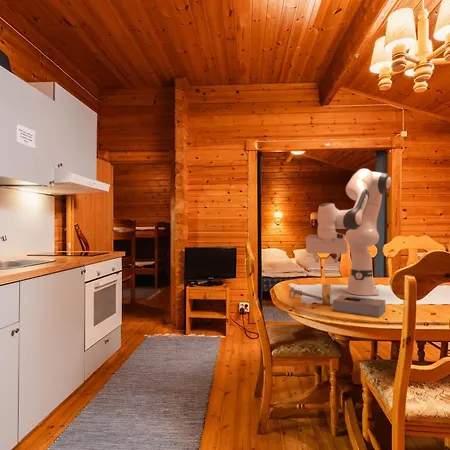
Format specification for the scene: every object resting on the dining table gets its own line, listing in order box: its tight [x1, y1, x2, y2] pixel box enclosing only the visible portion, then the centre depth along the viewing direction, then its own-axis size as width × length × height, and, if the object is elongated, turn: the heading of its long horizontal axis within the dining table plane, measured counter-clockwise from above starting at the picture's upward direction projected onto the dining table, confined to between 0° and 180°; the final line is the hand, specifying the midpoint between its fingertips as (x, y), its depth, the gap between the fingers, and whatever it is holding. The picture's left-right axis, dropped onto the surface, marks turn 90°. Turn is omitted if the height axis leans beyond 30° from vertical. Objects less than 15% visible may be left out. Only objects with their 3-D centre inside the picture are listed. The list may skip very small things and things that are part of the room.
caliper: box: [288, 286, 322, 301], centre depth 187 cm, size 20×1×6 cm, turn 64°
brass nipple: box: [321, 283, 331, 306], centre depth 173 cm, size 4×4×10 cm
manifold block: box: [332, 294, 386, 318], centre depth 160 cm, size 14×20×5 cm
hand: (326, 262), depth 173 cm, fingers open, 8 cm apart
